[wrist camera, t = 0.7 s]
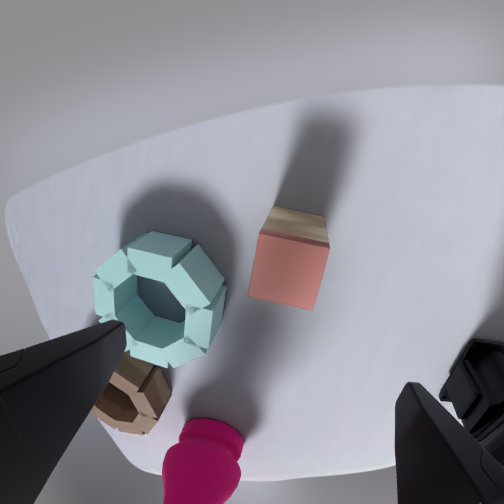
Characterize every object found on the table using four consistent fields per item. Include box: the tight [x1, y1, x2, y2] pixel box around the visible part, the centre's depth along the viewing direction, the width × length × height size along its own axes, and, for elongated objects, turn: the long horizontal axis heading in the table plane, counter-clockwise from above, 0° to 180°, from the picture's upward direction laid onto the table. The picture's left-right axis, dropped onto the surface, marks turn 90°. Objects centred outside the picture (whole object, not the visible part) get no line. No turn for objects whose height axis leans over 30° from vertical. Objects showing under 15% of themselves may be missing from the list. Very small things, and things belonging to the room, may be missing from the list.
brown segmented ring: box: [90, 349, 171, 435], centre depth 26 cm, size 9×9×4 cm
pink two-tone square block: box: [248, 206, 330, 310], centre depth 18 cm, size 3×3×6 cm
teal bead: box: [93, 231, 227, 368], centre depth 22 cm, size 9×9×4 cm
